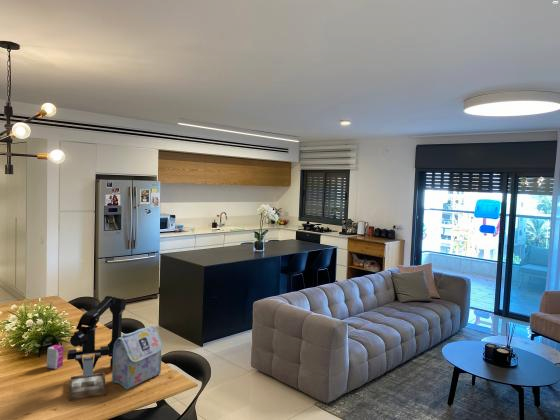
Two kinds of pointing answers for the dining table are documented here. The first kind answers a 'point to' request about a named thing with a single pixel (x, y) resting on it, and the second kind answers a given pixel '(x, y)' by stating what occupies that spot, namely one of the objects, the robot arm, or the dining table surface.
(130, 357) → the lunch bag
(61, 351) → the supplement box
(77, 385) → the shallow tray
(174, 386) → the dining table surface
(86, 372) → the peg
